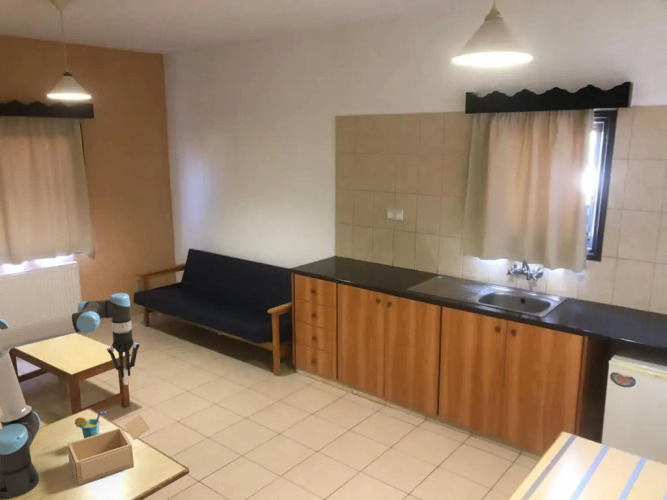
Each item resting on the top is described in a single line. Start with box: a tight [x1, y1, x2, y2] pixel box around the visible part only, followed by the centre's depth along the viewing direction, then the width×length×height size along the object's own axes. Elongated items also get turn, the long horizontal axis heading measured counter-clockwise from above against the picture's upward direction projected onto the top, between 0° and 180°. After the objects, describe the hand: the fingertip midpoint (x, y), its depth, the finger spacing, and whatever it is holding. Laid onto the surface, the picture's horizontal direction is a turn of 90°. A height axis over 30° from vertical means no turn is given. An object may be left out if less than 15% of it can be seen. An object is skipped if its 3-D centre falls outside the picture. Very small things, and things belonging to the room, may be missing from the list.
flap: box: [124, 414, 151, 441], centre depth 228 cm, size 8×14×1 cm, turn 34°
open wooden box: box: [66, 427, 135, 487], centre depth 221 cm, size 22×18×10 cm
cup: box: [74, 411, 109, 439], centre depth 236 cm, size 14×8×15 cm, turn 113°
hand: (125, 383), depth 227 cm, fingers closed
